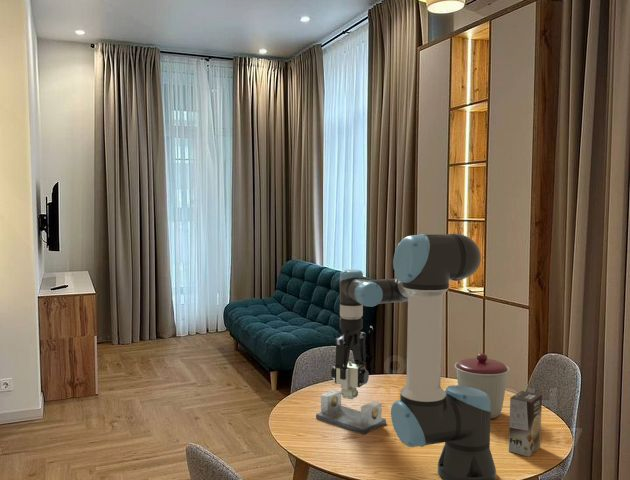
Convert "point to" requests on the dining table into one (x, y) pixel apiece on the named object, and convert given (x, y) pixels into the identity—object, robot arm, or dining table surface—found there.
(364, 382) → the pneumatic valve
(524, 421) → the coffee box
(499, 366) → the canister
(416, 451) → the dining table surface
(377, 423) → the fittings plate
